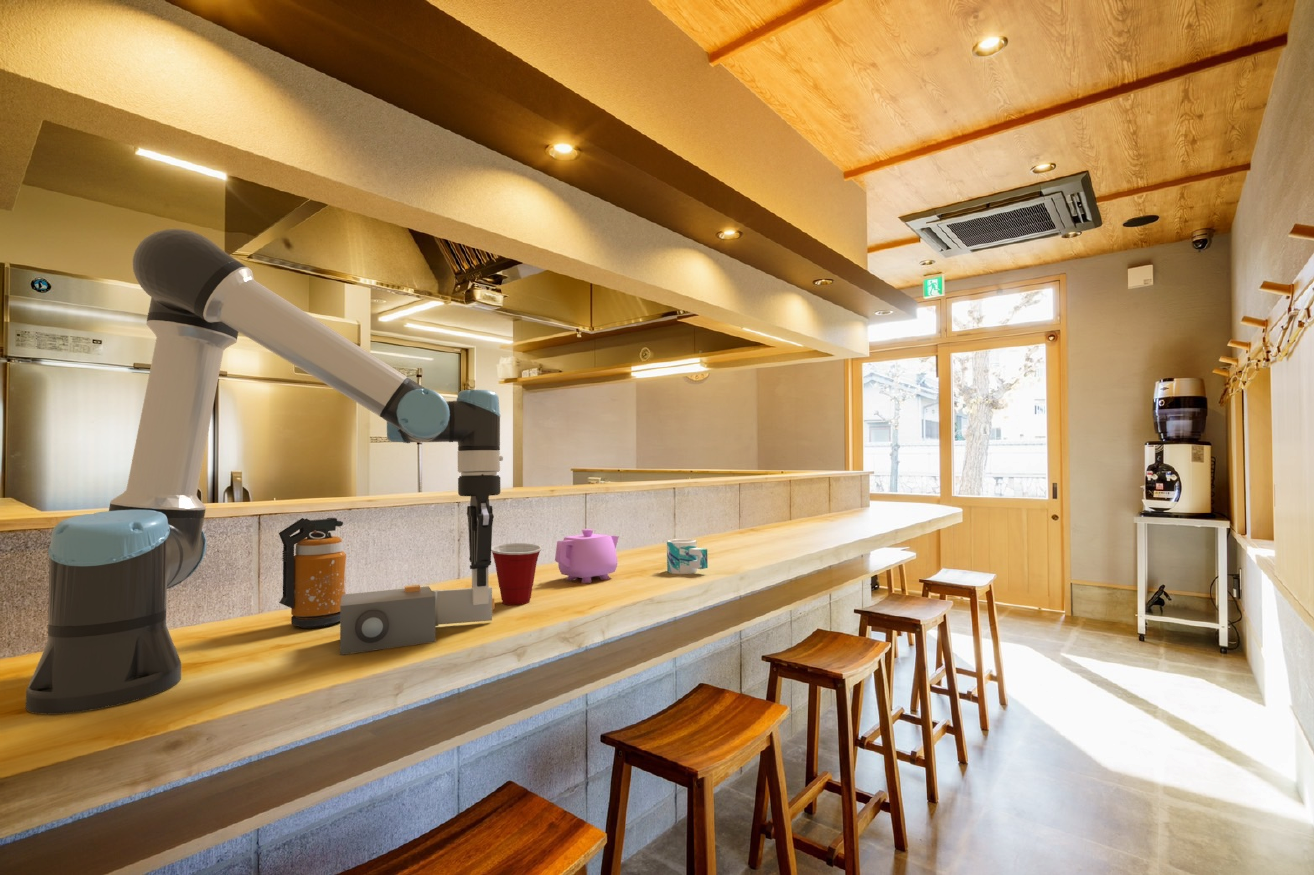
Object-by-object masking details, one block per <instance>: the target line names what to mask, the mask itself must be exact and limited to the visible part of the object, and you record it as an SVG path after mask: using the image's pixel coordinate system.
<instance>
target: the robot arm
mask: <svg viewBox="0 0 1314 875" xmlns="http://www.w3.org/2000/svg"><path fill="white" fill-rule="evenodd" d="M133 253H134V254H133V257H132V269H133V270H132V271H133V274H134V278H135V279H136V281H137V282H138V285H139V286H140V287H141V289H142V290H143V291H144V292H145V293H146V294H147V295H148V296H149V297H150V303H149V307H148V312H147V317H146V323H145V324H146V326H147V327H148V328H149V329H150V330H151V331H152V332H153V334H154V335H155V337H156V339H155V343H154V349H153V355H152V358H151V364H150V369H149V373H148V379H147V383H146V389H145V394H144V399H143V404H142V410H141V414H140V419H139V424H138V430H137V434H136V439H135V444H134V450H133V456H132V459H131V464H130V470H129V475H128V480H127V486H126V490H125V491H124V492H123V493H121V494H119V495H118V496H116V497H115V498H113V499H111V500H110V502H109V508H108V510H107V511H98V512H94V513H86V514H80V515H76V516H72V517H69V518H65V519H63V520H61V521H60V522H58V523H56V525H55V526H54V527H53V529H52V530H51V536H50V537H51V538H50V539H51V540H50V544H49V546H48V549H47V553H48V554H47V555H48V557H49V562H48V563H49V565H48V566H49V567H48V568H49V569H48V570H49V571H48V573H49V574H48V610H47V611H48V612H47V613H48V619H47V621H48V622H47V626H48V627H47V642H46V645H45V647H44V650H43V652H42V654H41V656H40V659H39V661H38V664H37V666H36V668H35V670H34V672H33V675H32V677H31V678H30V681H29V684H28V685H27V688H26V692H25V693H26V694H25V709H26V710H25V711H27V712H30V713H32V714H38V715H59V714H60V715H61V714H71V713H80V712H86V711H88V712H89V711H93V710H94V711H95V710H99V709H104V708H109V707H115V706H119V705H122V704H123V705H124V704H126V703H127V704H128V703H131V702H134V701H138V700H142V699H144V698H147V697H151V696H153V695H156V694H160V693H162V692H164V691H166V690H168V689H171V688H172V687H174V686H176V685H177V684H178V683H179V682H180V681H181V679H182V662H181V658H180V656H179V654H178V651H177V649H176V646H175V643H174V642H173V638H172V636H171V633H170V631H169V629H168V626H167V600H168V599H167V596H168V594H167V593H168V589H170V588H173V587H175V586H178V585H179V584H181V583H183V582H184V581H185V580H187V579H188V578H189V577H190V576H191V575H192V574H193V573H194V572H195V571H196V570H197V569H198V567H199V566H200V565H201V563H202V562H203V559H204V557H205V556H206V552H207V545H208V544H207V543H208V542H207V537H206V534H205V532H204V529H203V528H204V520H205V515H206V510H207V508H206V507H207V505H205V504H204V503H203V501H201V500H200V499H199V497H198V490H199V483H200V479H201V472H202V468H203V462H204V457H205V452H206V448H207V440H208V436H209V430H210V424H211V419H212V415H213V414H212V413H213V408H214V404H215V398H216V392H217V388H218V387H217V386H218V381H219V377H220V376H219V375H220V371H221V365H222V360H223V354H224V351H225V350H226V349H227V348H229V347H231V346H232V345H234V344H236V343H237V342H238V336H239V333H240V334H242V335H243V336H245V337H246V338H248V339H250V340H251V341H253V342H255V343H256V344H258V345H260V346H262V347H263V348H265V349H266V350H269V351H270V352H272V353H273V354H275V355H277V357H278V356H279V357H280V358H281V359H283V360H284V361H287V362H288V363H290V364H291V365H294V367H296V368H298V369H300V370H301V371H303V372H305V373H307V374H308V375H310V376H311V377H313V378H315V379H317V380H319V381H320V382H321V383H323V384H325V385H326V386H329V387H330V388H332V389H333V390H335V391H337V392H339V393H341V394H342V395H344V396H345V397H347V398H349V399H350V400H352V401H353V402H355V403H357V404H358V405H360V406H362V407H363V408H365V409H367V410H369V411H371V412H372V413H374V414H375V415H377V416H378V417H380V418H382V419H383V420H384V421H386V438H387V440H388V441H389V442H392V443H402V444H404V443H405V444H411V443H457V473H460V476H459V477H458V478H457V493H458V495H459V496H460V497H470V502H469V505H467V507H466V516H467V523H468V524H467V526H468V527H467V528H468V530H467V531H468V545H469V546H468V547H469V548H468V549H469V557H468V558H469V562H470V565H469V569H470V570H471V588H472V604H473V605H479V604H488V603H489V587H490V586H489V567H490V566H491V565H492V551H491V547H492V544H493V543H492V538H493V523H494V518H495V517H494V513H493V506H492V505H490V496H499V495H500V493H501V476H500V475H499V474H498V472H499V473H500V472H501V462H502V461H503V460H504V456H503V455H500V454H501V452H500V450H501V413H500V412H501V411H500V399H499V395H498V394H497V393H496V392H494V391H493V390H487V389H465V390H461V391H459V392H458V394H457V398H456V400H448V401H447V400H446V399H445V397H444V396H442V395H441V394H440V393H439V392H438V391H435V390H433V389H430V388H428V387H427V388H425V387H423V386H422V385H421V384H419V383H418V382H416V381H414V380H413V379H411V378H409V377H408V376H407V375H405V374H404V373H402V372H400V371H399V370H398V369H396V368H394V367H392V366H391V365H389V364H388V363H386V362H384V361H383V360H382V359H380V358H378V357H377V356H375V355H373V354H372V353H370V352H369V351H367V350H365V349H364V348H362V347H361V346H359V345H357V344H356V343H354V342H353V341H351V340H350V339H348V338H347V337H345V336H343V335H342V334H341V333H338V332H337V331H335V330H334V329H332V328H331V327H329V326H328V325H326V324H324V323H323V322H321V321H320V320H318V319H316V318H315V317H313V315H310V314H309V313H307V312H306V311H304V310H302V309H301V308H300V307H297V306H296V305H294V304H293V303H292V302H290V301H288V300H287V299H285V298H283V297H282V296H280V295H279V294H277V293H275V292H274V291H272V290H271V289H270V288H268V287H266V286H264V285H263V284H262V283H260V282H258V281H257V280H255V278H254V273H253V271H252V269H251V268H250V267H248V266H246V265H244V263H241V262H240V261H238V260H237V259H236V258H234V257H233V256H231V255H230V254H229V253H227V252H226V251H224V250H223V249H222V248H220V246H218V244H216V243H215V242H213V241H212V240H210V239H209V238H208V237H205V236H204V235H201V234H199V233H198V232H195V231H191V230H187V229H180V228H171V229H170V228H168V229H167V228H166V229H162V230H160V231H156V232H153V233H151V234H149V235H148V236H146V237H144V238H143V239H142V240H141V241H140V242H139V244H138V245H137V247H136V248H135V250H134V252H133Z"/></svg>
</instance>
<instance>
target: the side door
mask: <svg viewBox="0 0 1314 875" xmlns="http://www.w3.org/2000/svg"><path fill="white" fill-rule="evenodd" d="M432 592H433V593H434V595H435V627H438V626H439V625H450V624H451V625H452V624H463V623H476V622H489V621H491V622H492V621H493V610H495V596H493V586H489V603H488V604H479V605H473V604H472V587H469V588H456V589H455V588H454V589H453V588H452V589H440V590H438V589H436V590H432Z"/></svg>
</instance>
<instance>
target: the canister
mask: <svg viewBox="0 0 1314 875" xmlns="http://www.w3.org/2000/svg"><path fill="white" fill-rule="evenodd" d="M343 525H344V522H343V521H341V520H338V519H337V517H327V518H322V519H308V518H307V517H306V518H303V517H302V518H300V519H298V520H297V521H295V522H294V523H292V524H291V525H289V526H287V527H286V528H284V529H283V530H281V531H280V532H278V535H279V538H280V541H281V542H282V546H283V547H282V548H283V549H282V554H281V555H282V558H281V559H282V598H281V599H280V600H279V604H280V605H282V606H285V607H288V608H291V609H290V610H291V615H292V616H291V620H290V624H291V625H292V626H296V627H300V628H302V629H316V628H325V627H328V626H333V625H336V624H337V623H339V622H340V605H341V596H342V595H343V594H347V553H346V552H344V541H343V540H342V538H341V537H339V536H335V535H334V536H332V534H331V532H333V531H334V532H336V531H337V530H336V529H337V527H338V528H339V527H342V526H343Z"/></svg>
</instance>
